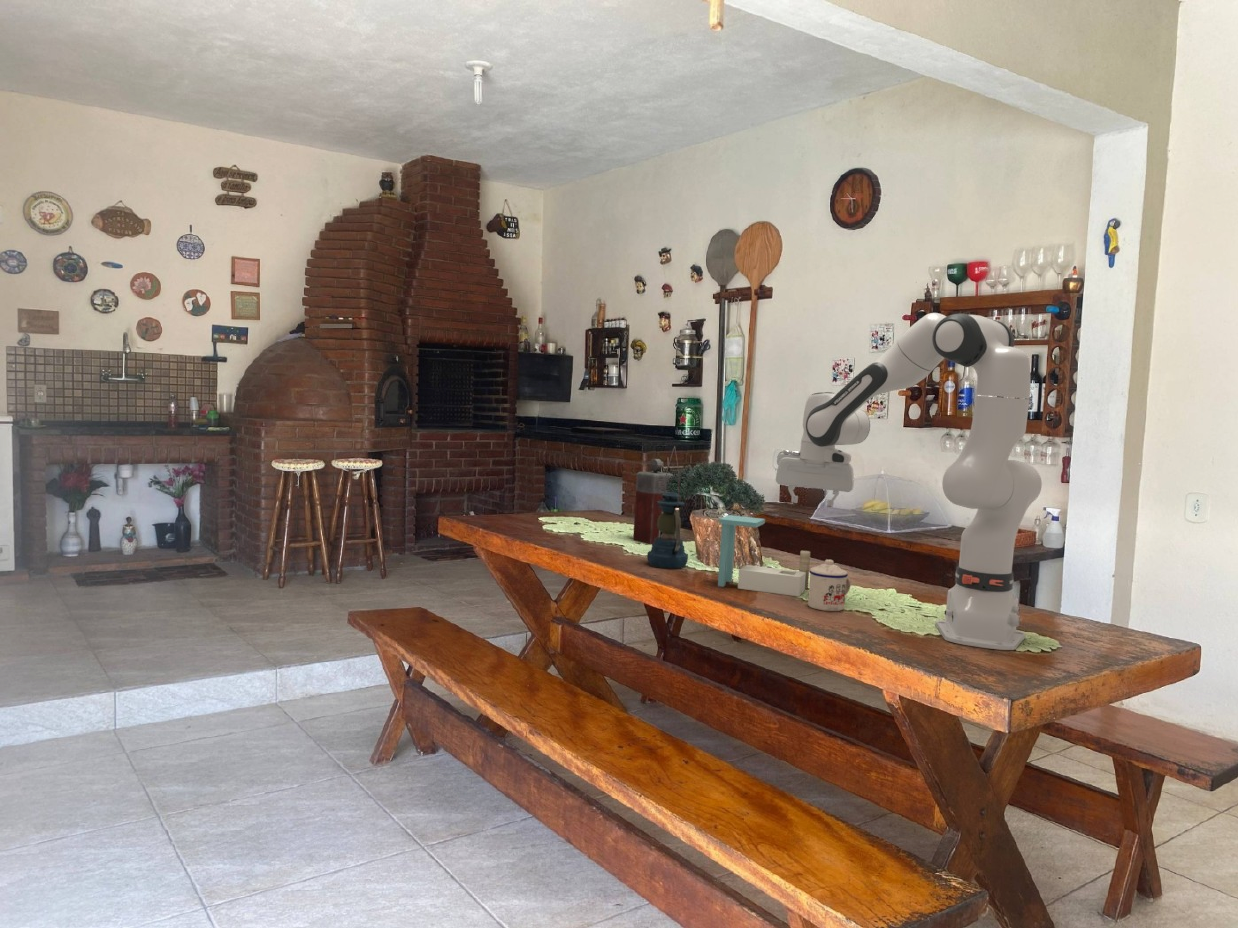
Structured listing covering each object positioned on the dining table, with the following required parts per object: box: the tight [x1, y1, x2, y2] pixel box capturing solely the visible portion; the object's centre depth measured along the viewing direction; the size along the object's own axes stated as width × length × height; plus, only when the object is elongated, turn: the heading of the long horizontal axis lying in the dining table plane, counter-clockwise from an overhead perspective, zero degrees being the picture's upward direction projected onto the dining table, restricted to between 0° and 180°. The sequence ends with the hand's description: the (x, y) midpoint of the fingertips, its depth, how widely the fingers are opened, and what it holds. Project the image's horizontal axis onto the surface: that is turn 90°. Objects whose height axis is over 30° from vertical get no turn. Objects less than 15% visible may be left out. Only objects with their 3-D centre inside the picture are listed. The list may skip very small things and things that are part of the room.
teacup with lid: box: [807, 559, 852, 612], centre depth 221 cm, size 12×9×12 cm
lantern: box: [646, 445, 689, 570], centre depth 263 cm, size 14×12×35 cm
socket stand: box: [717, 514, 806, 597], centre depth 239 cm, size 10×22×18 cm, turn 68°
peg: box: [798, 550, 811, 590], centre depth 242 cm, size 3×3×10 cm
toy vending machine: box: [632, 458, 674, 545], centre depth 306 cm, size 9×11×28 cm
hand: (812, 504), depth 242 cm, fingers open, 8 cm apart
